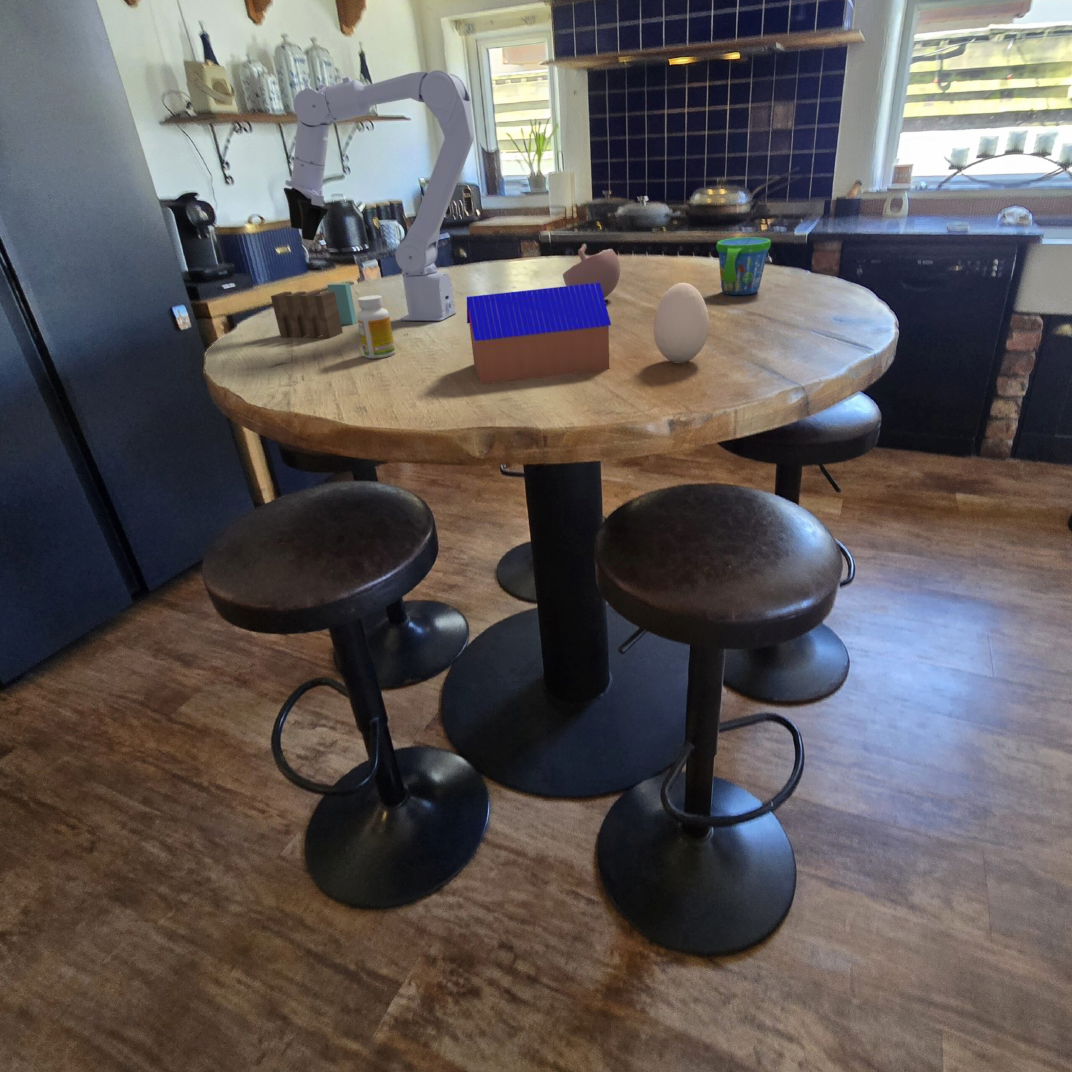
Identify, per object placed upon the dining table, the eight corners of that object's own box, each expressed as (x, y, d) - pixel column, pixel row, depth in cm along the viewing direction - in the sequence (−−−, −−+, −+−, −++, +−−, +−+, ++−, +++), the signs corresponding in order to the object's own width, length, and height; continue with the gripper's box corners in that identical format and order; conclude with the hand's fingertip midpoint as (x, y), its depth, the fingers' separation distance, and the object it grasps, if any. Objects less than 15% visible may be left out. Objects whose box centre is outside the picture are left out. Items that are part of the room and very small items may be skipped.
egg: (650, 356, 107) (651, 280, 102) (701, 353, 107) (705, 276, 101) (656, 371, 100) (657, 289, 95) (711, 368, 100) (716, 285, 94)
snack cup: (748, 301, 137) (752, 246, 132) (699, 298, 143) (702, 245, 138) (778, 287, 147) (783, 235, 142) (732, 284, 153) (735, 235, 148)
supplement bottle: (401, 351, 122) (391, 294, 117) (385, 359, 117) (375, 300, 113) (374, 350, 123) (364, 294, 119) (358, 358, 119) (347, 300, 114)
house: (612, 370, 103) (610, 289, 97) (479, 386, 101) (470, 304, 95) (592, 351, 114) (590, 276, 108) (472, 365, 111) (463, 290, 105)
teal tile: (339, 322, 147) (331, 283, 143) (357, 322, 146) (349, 283, 142) (335, 324, 146) (327, 284, 142) (353, 324, 145) (345, 284, 141)
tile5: (300, 332, 142) (291, 291, 138) (287, 337, 138) (277, 296, 134) (294, 332, 142) (284, 291, 138) (280, 337, 139) (270, 296, 135)
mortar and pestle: (583, 294, 156) (581, 239, 150) (630, 297, 149) (630, 240, 144) (553, 305, 147) (550, 247, 142) (601, 308, 141) (600, 248, 135)
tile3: (328, 332, 139) (319, 291, 136) (315, 337, 136) (306, 295, 132) (322, 332, 140) (312, 291, 136) (309, 337, 136) (299, 295, 132)
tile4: (314, 332, 141) (305, 291, 137) (301, 337, 137) (291, 295, 133) (308, 332, 141) (298, 291, 137) (294, 337, 137) (284, 295, 134)
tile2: (342, 332, 138) (334, 291, 134) (330, 338, 135) (321, 295, 131) (336, 332, 139) (327, 291, 135) (323, 338, 135) (314, 295, 131)
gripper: (278, 147, 136) (272, 219, 143) (300, 165, 127) (292, 241, 134) (313, 156, 140) (306, 225, 147) (337, 173, 131) (328, 247, 138)
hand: (302, 233), depth 141 cm, fingers open, 7 cm apart
